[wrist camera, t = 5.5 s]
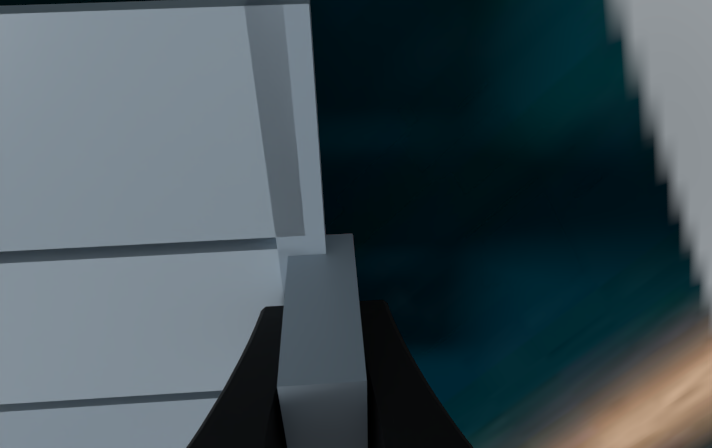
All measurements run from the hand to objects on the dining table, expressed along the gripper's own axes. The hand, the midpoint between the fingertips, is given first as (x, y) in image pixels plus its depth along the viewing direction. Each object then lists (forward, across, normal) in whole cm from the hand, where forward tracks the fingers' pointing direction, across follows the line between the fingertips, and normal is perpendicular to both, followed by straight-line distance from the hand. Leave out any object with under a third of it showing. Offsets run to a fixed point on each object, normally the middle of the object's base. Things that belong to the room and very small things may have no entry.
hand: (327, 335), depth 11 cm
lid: (+1, +5, 0) cm, 5 cm away
